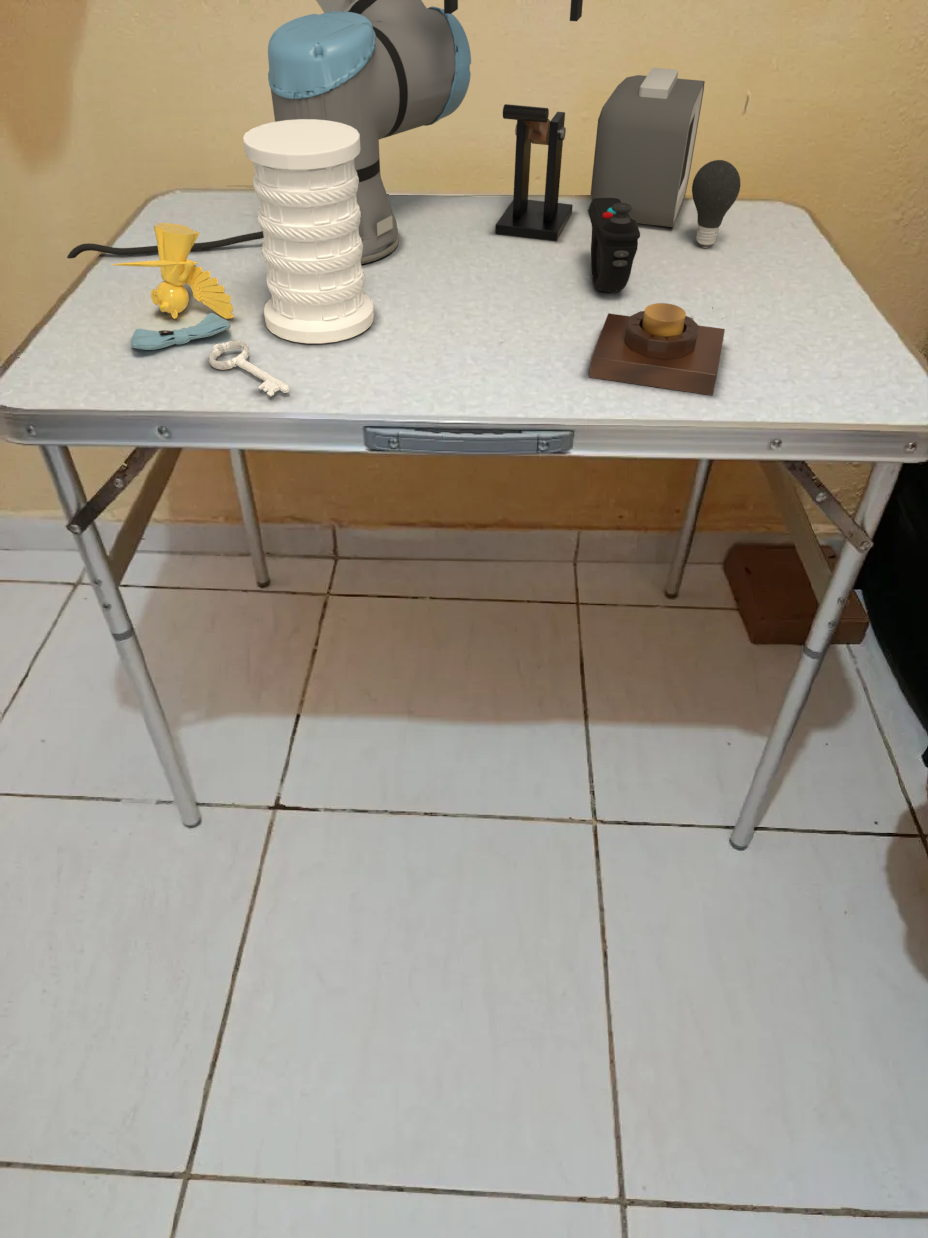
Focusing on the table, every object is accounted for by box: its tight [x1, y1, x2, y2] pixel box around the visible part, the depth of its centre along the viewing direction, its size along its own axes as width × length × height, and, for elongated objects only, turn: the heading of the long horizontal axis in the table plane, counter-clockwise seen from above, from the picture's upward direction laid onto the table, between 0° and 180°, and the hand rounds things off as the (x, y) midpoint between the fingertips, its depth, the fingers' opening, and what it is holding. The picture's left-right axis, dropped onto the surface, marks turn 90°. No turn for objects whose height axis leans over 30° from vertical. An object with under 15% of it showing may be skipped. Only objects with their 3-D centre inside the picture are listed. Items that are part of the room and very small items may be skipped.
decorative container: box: [242, 119, 375, 344], centre depth 92 cm, size 12×12×18 cm
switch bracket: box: [494, 111, 573, 242], centre depth 115 cm, size 10×8×13 cm
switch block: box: [588, 310, 726, 396], centre depth 91 cm, size 12×10×4 cm
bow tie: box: [130, 312, 232, 351], centre depth 94 cm, size 10×2×5 cm
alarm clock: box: [590, 67, 706, 228], centre depth 119 cm, size 16×11×16 cm
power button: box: [642, 302, 687, 336], centre depth 89 cm, size 4×4×2 cm
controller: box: [587, 198, 641, 293], centre depth 103 cm, size 4×12×10 cm, turn 3°
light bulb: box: [691, 159, 741, 249], centre depth 111 cm, size 6×6×10 cm
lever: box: [502, 103, 551, 146], centre depth 108 cm, size 12×5×2 cm, turn 164°
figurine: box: [110, 222, 235, 320], centre depth 95 cm, size 12×12×9 cm
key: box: [208, 339, 291, 397], centre depth 89 cm, size 12×1×4 cm
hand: (512, 15), depth 97 cm, fingers open, 13 cm apart
